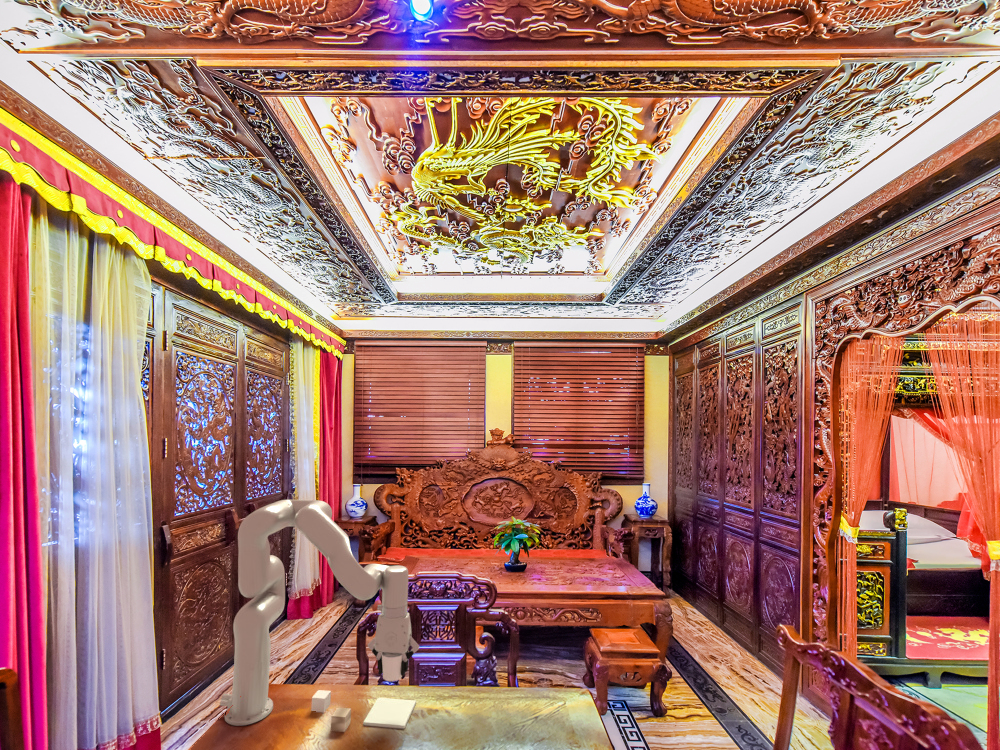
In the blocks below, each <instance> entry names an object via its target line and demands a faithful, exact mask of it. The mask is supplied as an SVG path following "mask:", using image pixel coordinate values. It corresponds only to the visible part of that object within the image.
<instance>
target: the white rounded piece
mask: <svg viewBox="0 0 1000 750" xmlns="http://www.w3.org/2000/svg"><path fill="white" fill-rule="evenodd" d="M402 661H403V658H402V654H400V653H384V652H383V653H382V669H383V672H382V678H383V680H384V681H386V682H395V681H398V680H400V679H401V678H402V677H403V676H402V675H401V664H402Z"/></svg>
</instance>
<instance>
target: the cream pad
mask: <svg viewBox="0 0 1000 750" xmlns="http://www.w3.org/2000/svg"><path fill="white" fill-rule="evenodd" d="M416 705H417V700H413V699H402V698H388V697H377V699H376V700H375V702H374V704H373V705H372V707H371V709H370V710H369V712H368V714H367V716H366V717H365V719H364V721H363V723H362V724H363V726H370V727H379V728H380V727H382V728H391V729H392V728H393V729H403V730H404V729H406V726H407V725H408V722H409V720H410V718H411V715H412V714H413V712H414V709H415V708H416Z"/></svg>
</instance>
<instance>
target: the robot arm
mask: <svg viewBox="0 0 1000 750" xmlns="http://www.w3.org/2000/svg"><path fill="white" fill-rule="evenodd" d="M332 517H333V509H332V507H331V506H330V505H329V503H327V502H325V501H323V500H317V499H314V500H313V499H281V500H278V501H275V502H273V503H269V504H267V505H265V506H261V507H260V508H258V509H256V510H254V511H253V512H251V513H250V514H248V515H246V517H245V518H244V519H243V520H242V521H241V523H240V525H239V527H238V531H237V547H238V559H237V561H238V562H237V563H238V566H237V567H238V569H237V573H238V574H237V575H238V583H237V585H238V590H239V593H240V594H241V596H243V597H244V598H247V599H251V600H249V601H248V602H247V603H245V604H244V605H242V607H240V609H239V610H238V612H237V613H236V615H235V617H234V620H233V630H232V631H233V635H234V637H233V638H234V657H233V659H234V660H233V661H234V662H233V663H234V664H233V677H232V691H231V693H222V695H221V698H220V701H219V706H223V707H224V706H226V707H227V709H226V710H225V712H226V711H227V710H228V709H229V708H230V707H231V706H232V705H233V706H232V707H231V708H230V711H229V713H228V714H227V715H226V716H225V715H224V721H225V722H226V723H227V724H229V725H231V726H237V727H238V726H242V727H243V726H247V725H252V724H254V723H257V722H259V721H261V720H263V719H265V718H267V716H269V715H270V713H271V712H272V711H273V709H274V701H273V700H272V699H271V698H270V697H269V685H270V664H271V648H272V647H271V646H272V645H271V644H272V643H271V638H270V637H271V636H270V631H269V629H270V626H271V625H272V624H273V623H274V622H275V621H276V620H277V619H278V618H279V617H280V615H282V613H283V611H284V609H285V606H286V605H285V604H286V575H285V573H286V572H285V567H284V564H283V562H282V560H281V559H280V558H279V557H277V556H276V555H273V554H271V544H270V542H269V538H268V537H269V536H270V535H273V534H275V533H277V532H279V531H281V530H282V529H285V528H286V527H295V528H296V529H297V530H298V531H299V533H300V534H302V535H303V536H304V538H306V539H307V541H309V542H310V543H311V544H312V545H313V546H314V547H315V548H316V549H317V550H318V551H319V552H320V553H321V554H322V555H323V556H324V557H325V559H326V560H327V563H328V565H329V568H330V569H331V571H332V573H333V575H334V578H335V579H336V581H338V583H340V585H341V586H342V587H343V588H344V589H345V591H348V593H349V594H350V595H351V596H353V597H354V598H355V599H357V600H360V601H369V600H370V599H372V598H373V597H375V596H376V594H377V593H378V591H379V590H382V594H381V597H382V598H381V604H378V605H377V608H376V610H378V611H380V614H378V618H377V622H376V628H375V629H376V630H375V635H374V637H373V639H371V640H370V641H369V642H368V643H367V647H368V649H369V650H370V651H371V653H372V655H374V656H375V659H376V660H377V665H376V667H377V668H376V669H377V670H378V675H381V674H383V669H382V653H383V652H384V653H400V654H402V658H403V661H402V664H401V675H402V677H404V676H405V674H406V672H408V670H409V659H411V658H412V656H413V655H415V654H416V653H417V651H418V650H419V649H420V645H419V644H418V643H417V641H416V640H415V639H414V638H413V637H412V623H411V616H410V613H409V612H408V604H409V603H408V602H409V601H408V597H409V594H408V593H409V569H408V568H407V567H406V566H405V565H404V566H403V565H398V564H397V565H385V564H380V563H369V564H367V565H365V566H364V567H363V566H362V565H361V564H360V563H359V562H358V561H357V560H356V558H355V556H354V555H353V553H352V550H351V543H350V537H349V535H348V534H347V533H346V531H344V530H343V529H342V528H341V527H340V526H339V525H338V524H337V523H336V522H335V521H334V520H333V519H332ZM410 647H411V649H410V650H409V648H410ZM240 696H241V697H240Z"/></svg>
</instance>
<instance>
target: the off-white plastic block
mask: <svg viewBox="0 0 1000 750" xmlns="http://www.w3.org/2000/svg"><path fill="white" fill-rule="evenodd" d="M331 696H332V691H331V690H322V689H318V690H317V691H316V692H315V693H314V694H313V696H312V697H311V710H310V711H316V712H315V713H323V714H325V712H326V710H327V709H328V708H329V707H330V706H331V698H332V697H331ZM329 705H330V706H329Z"/></svg>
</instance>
